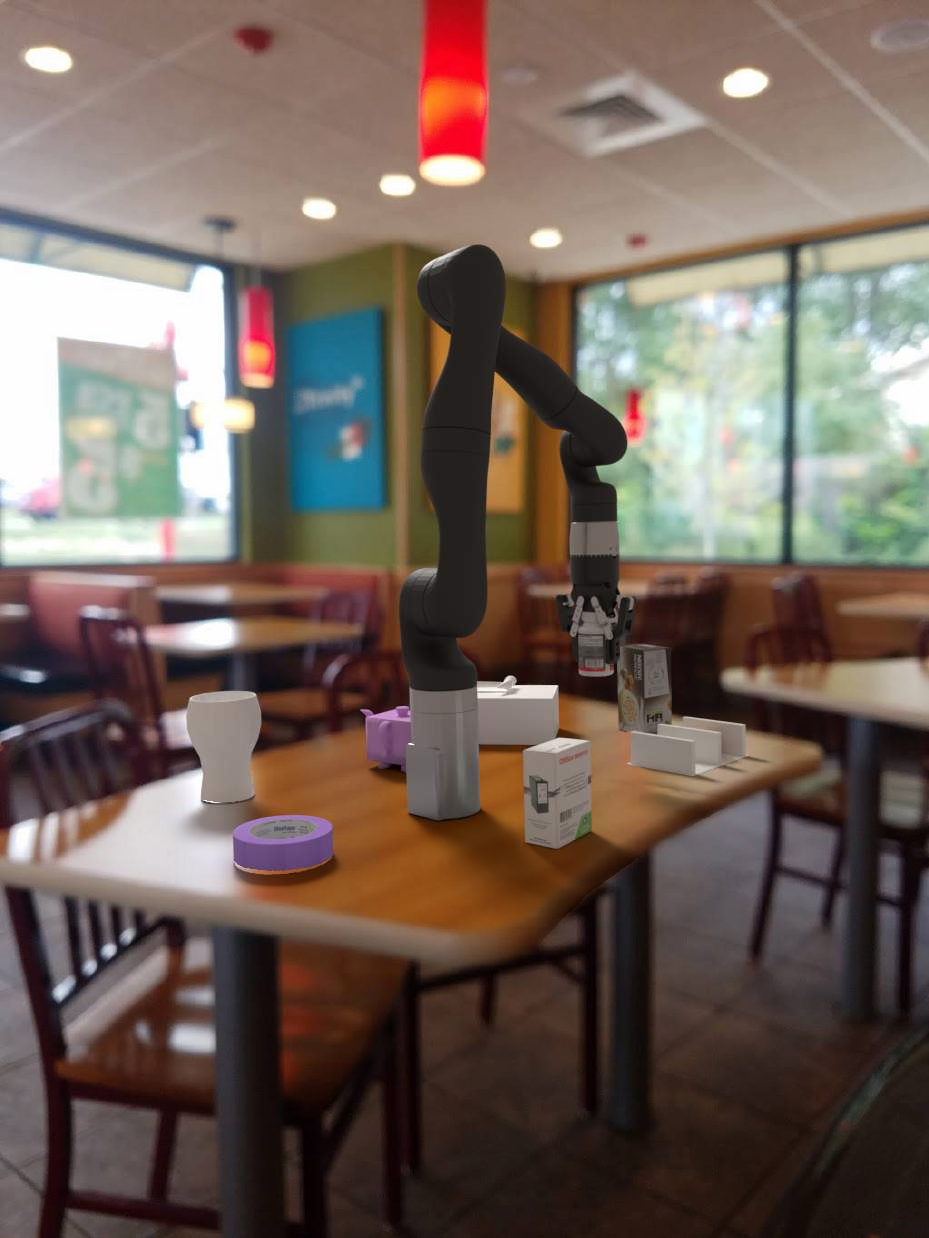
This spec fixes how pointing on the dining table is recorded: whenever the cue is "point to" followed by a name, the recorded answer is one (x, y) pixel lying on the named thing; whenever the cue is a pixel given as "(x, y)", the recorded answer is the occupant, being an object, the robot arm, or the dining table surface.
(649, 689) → the coffee box
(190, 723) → the cup
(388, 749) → the teapot
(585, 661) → the pill bottle
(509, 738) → the tissue box
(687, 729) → the rack
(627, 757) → the dining table surface
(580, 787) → the ink box
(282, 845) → the masking tape
